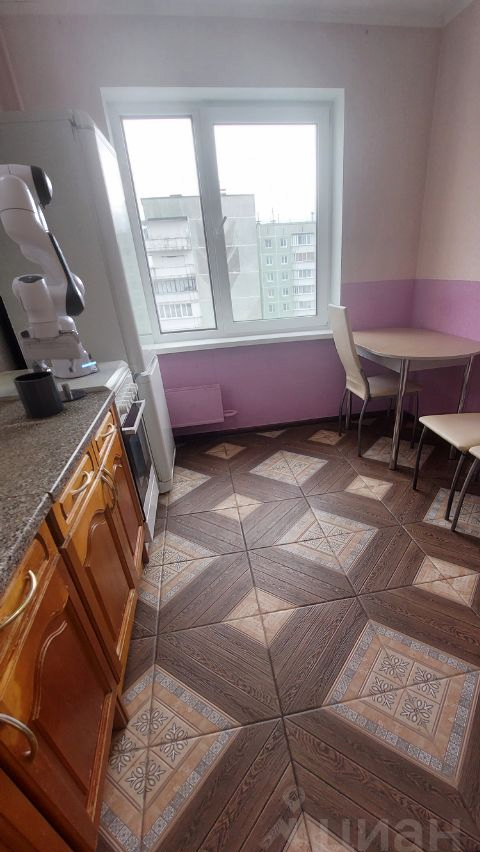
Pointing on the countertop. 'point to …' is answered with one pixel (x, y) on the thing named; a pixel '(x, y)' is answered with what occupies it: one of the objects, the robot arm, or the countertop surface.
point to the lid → (71, 393)
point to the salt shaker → (36, 367)
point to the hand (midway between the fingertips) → (60, 372)
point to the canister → (39, 394)
